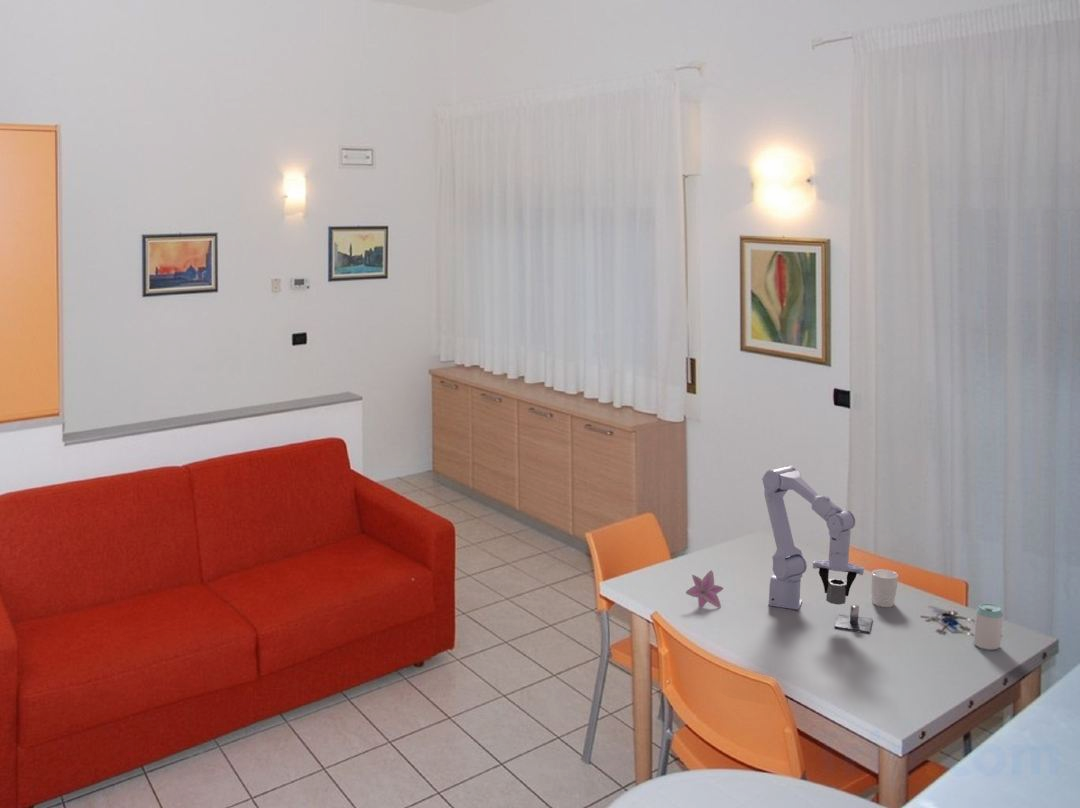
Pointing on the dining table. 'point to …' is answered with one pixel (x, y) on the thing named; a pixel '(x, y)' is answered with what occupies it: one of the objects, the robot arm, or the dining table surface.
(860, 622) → the post
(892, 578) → the white cup
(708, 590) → the lily
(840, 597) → the tube
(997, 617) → the can
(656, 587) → the dining table surface
